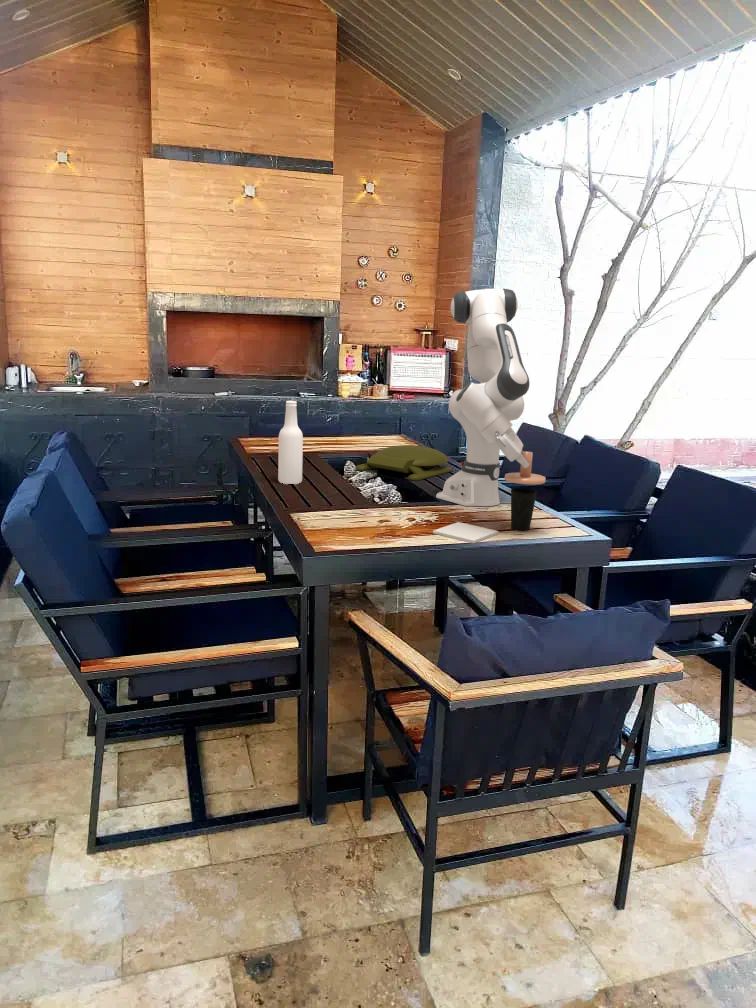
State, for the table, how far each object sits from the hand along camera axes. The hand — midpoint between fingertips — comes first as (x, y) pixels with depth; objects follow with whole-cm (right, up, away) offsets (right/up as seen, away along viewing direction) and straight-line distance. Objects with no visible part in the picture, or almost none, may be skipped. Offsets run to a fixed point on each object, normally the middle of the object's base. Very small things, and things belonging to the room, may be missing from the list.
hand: (528, 465), depth 227 cm
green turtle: (-32, +2, +88) cm, 94 cm away
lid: (-1, -4, +1) cm, 5 cm away
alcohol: (-77, -4, +55) cm, 95 cm away
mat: (-19, -20, -3) cm, 28 cm away
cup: (-1, -19, +5) cm, 20 cm away
